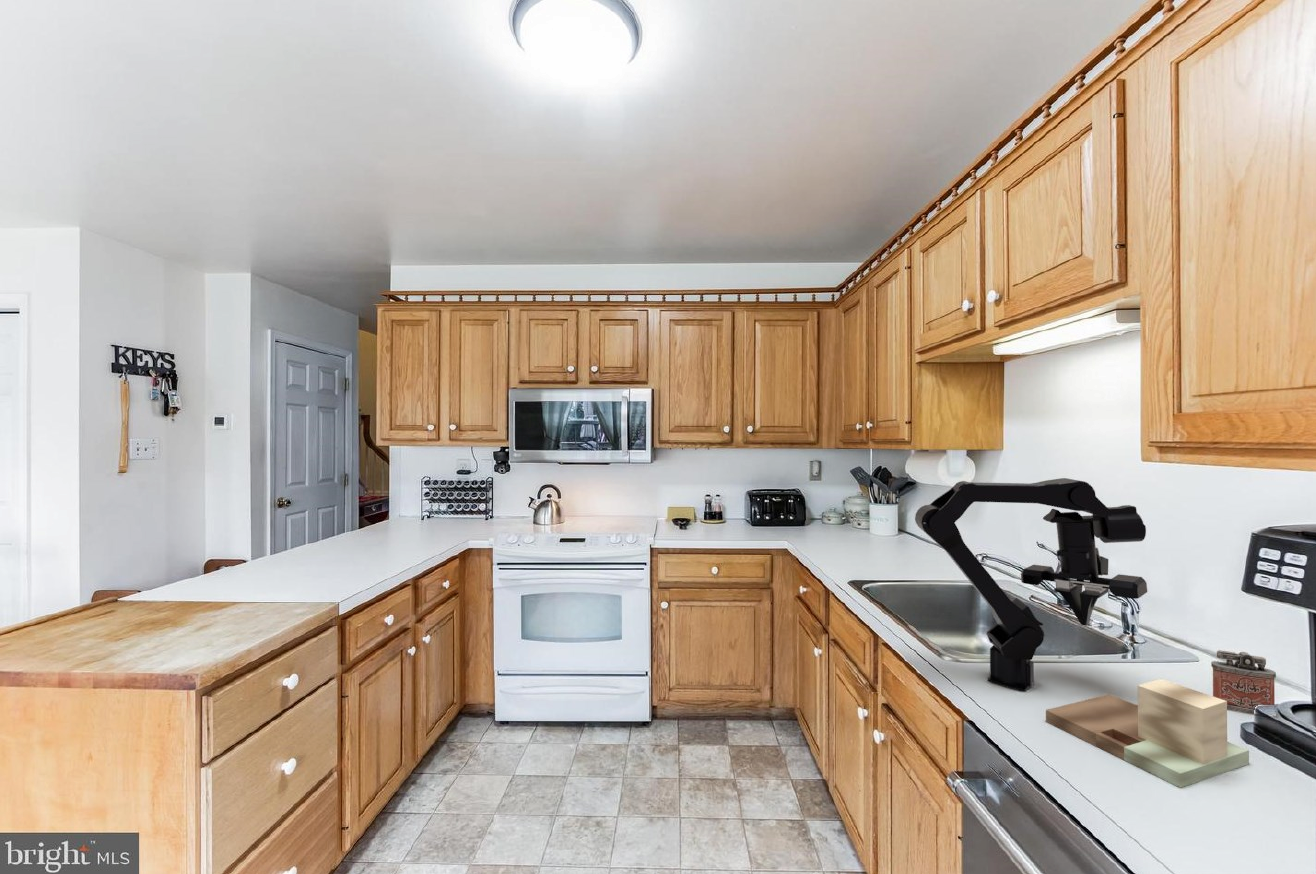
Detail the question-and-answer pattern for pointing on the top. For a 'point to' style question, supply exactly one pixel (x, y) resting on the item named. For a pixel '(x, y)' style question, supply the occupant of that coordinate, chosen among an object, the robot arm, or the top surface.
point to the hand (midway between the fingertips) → (1084, 624)
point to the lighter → (1243, 681)
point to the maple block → (1183, 720)
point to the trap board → (1136, 740)
